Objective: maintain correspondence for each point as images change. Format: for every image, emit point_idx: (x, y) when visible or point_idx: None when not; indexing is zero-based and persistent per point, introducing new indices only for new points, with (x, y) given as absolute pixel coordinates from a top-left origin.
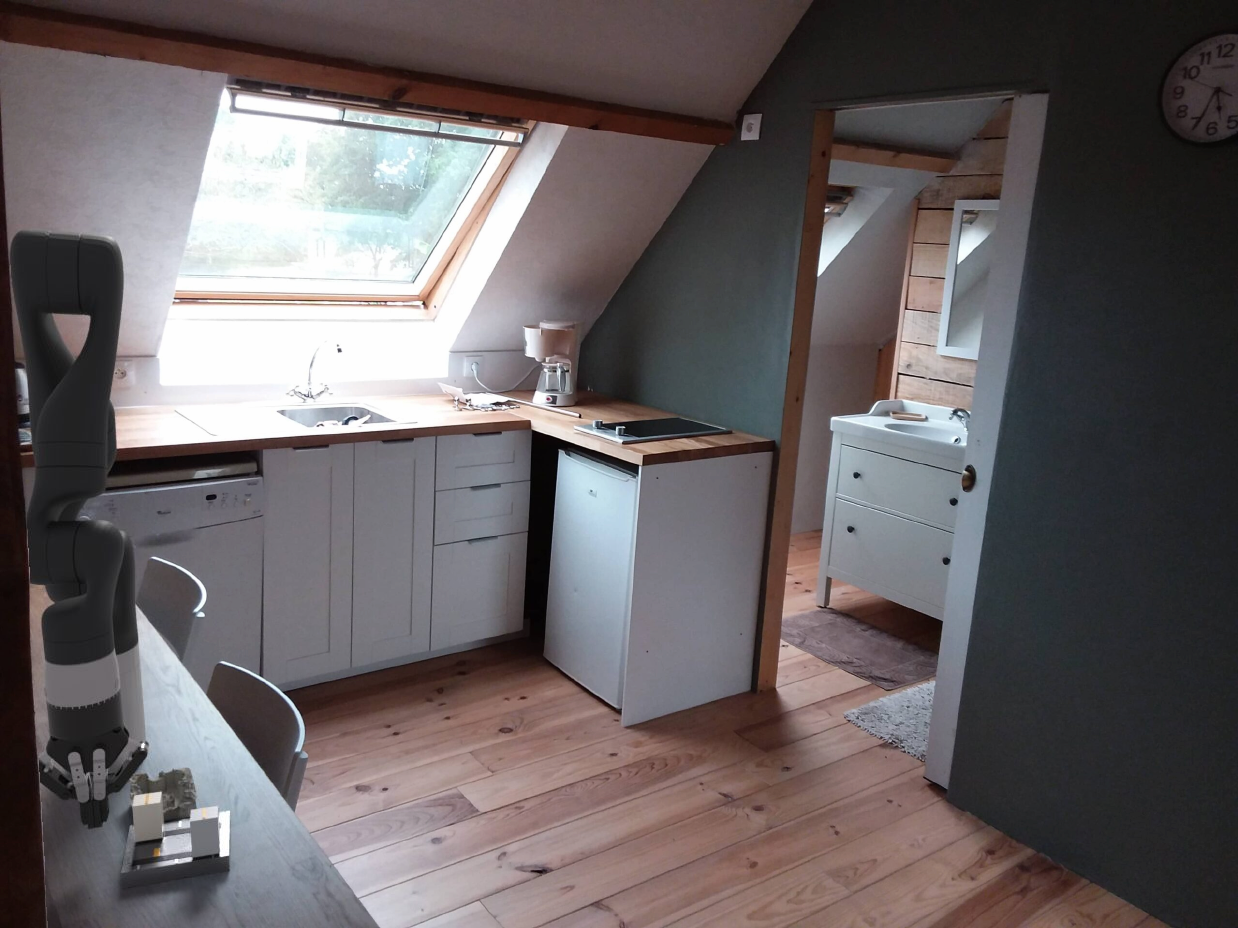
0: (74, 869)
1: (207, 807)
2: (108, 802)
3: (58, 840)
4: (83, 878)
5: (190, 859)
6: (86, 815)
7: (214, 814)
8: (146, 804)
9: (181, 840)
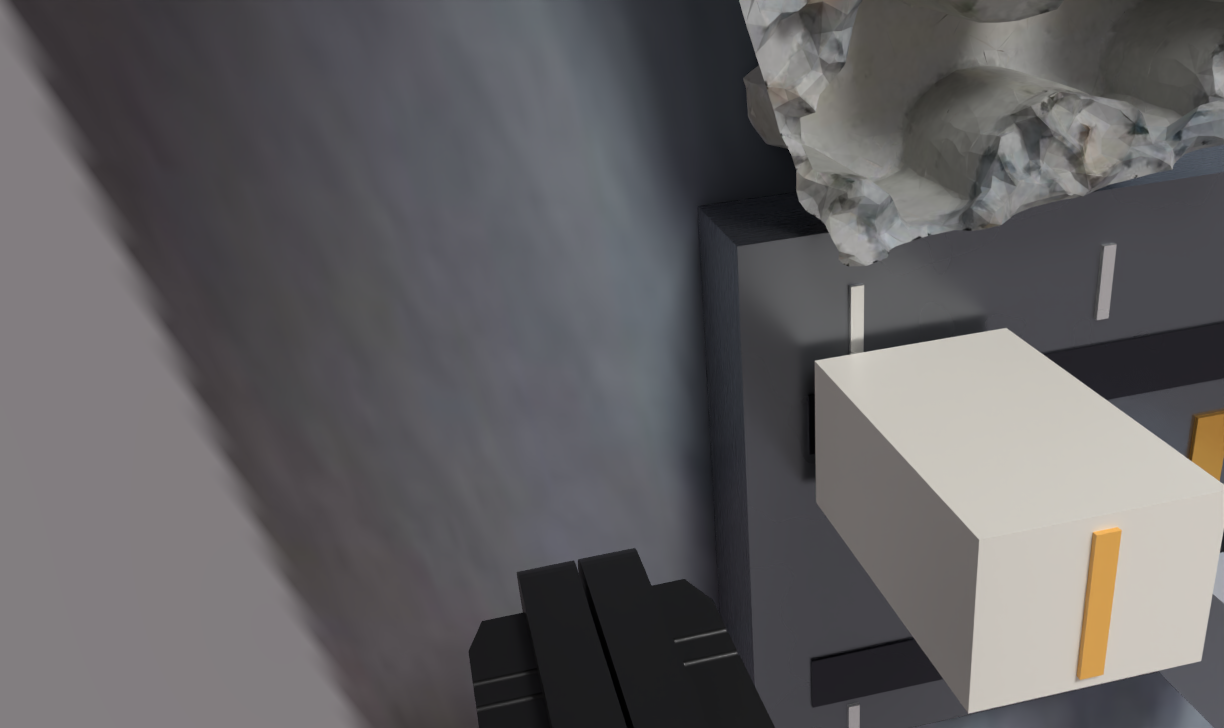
0: (380, 508)
1: None
2: (743, 670)
3: (99, 129)
4: (471, 597)
5: None
6: None
7: None
8: (1085, 684)
9: None
